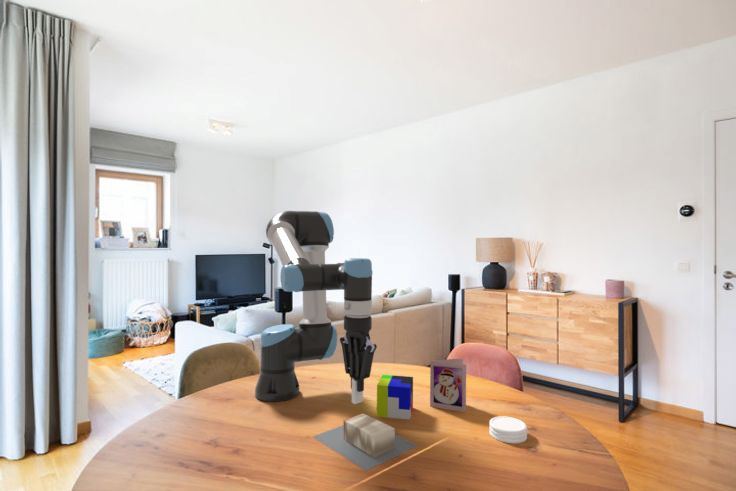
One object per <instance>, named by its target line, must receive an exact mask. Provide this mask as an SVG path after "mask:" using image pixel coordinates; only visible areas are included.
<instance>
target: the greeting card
mask: <svg viewBox="0 0 736 491" xmlns="http://www.w3.org/2000/svg"><path fill="white" fill-rule="evenodd" d="M429 368H430V372H429V373H430V374H429V375H430V376H429V377H430V378H429V379H430V380H429V381H430V382H429V383H430V384H429V385H430V386H429V388H430V390H429V396H430V397H429V407H432V408H437V409H443V410H444V409H445V410H450V411H456V412H457V411H458V412H462V413H463V412H464V413H466V412H467V364H464V358H448V359H447V358H446V359H432V360H430V366H429Z"/></svg>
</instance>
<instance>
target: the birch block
mask: <svg viewBox="0 0 736 491" xmlns="http://www.w3.org/2000/svg"><path fill="white" fill-rule="evenodd" d="M343 425H344V440H346V441H348V442H350V443H351V444H353V445H355V446H356V447H358V448H360V449H361V450H363V451H365V452H367V453H368V454H370V455H372V456H373V457H376V456H378V455H380V454H382V453H385V452H387V451H389V450H391V449H393V448H395V434H396V433H395V430H396V429H395V427H393V426H390V425H389V424H386V423H385V422H383V421H380V420H378V419H376V418H374V417H372V416H371V415H368V414H366V413H361V414H360V413H359V414H357V415H355V416H352V417H350V418H346V419H344V420H343Z"/></svg>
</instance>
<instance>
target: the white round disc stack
mask: <svg viewBox="0 0 736 491" xmlns="http://www.w3.org/2000/svg"><path fill="white" fill-rule="evenodd" d="M488 423H489V426H488V427H489V432H488V433H489V435H490V436H491V437H492V438H493V439H495V440H497V441H499V442H502V443H505V444H521V443H524V442H526V440H527V439H528V426H527V424H526V423H525V422H524V421H522V420H520V419H518V418H515V417H512V416H504V415H502V416H501V415H500V416H494V417H492V418H490V419H489V422H488Z"/></svg>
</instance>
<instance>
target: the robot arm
mask: <svg viewBox="0 0 736 491" xmlns="http://www.w3.org/2000/svg"><path fill="white" fill-rule="evenodd" d="M333 223H334V222H333V220H332V217H331V216H330V215H329V214H328V213H327V212H324V211H322V212H321V211H313V210H312V211H307V210H306V211H305V210H302V211H301V210H299V211H298V210H285V211H281V212H279V213H277V214H275V215H274V216H273V217H272V218H271V219H270V220H269V221H268V223H267V226H266V229H265V234H266V238H267V241H268V243H269V244H270V245H271V246H273V247H274V249H275V251H276V254H277V256H278V257H279V261H280V262H281V265H282V267H281V269H280V278H279V279H280V285H281V286H280V287H281V288H282V290H283V292H292V293H293V292H294V293H299V292H302V317H303V318H302V319H301V320H300V321H299V323H298V328H296V327H295V325H294V324H289V323H287V324H285V323H284V324H277V325H273V326H269V327H267V328H265V329H264V330H263V331H262V332H261V335H260V342H259V346H260V369H259V370H260V372H259V376H258V379H257V382H256V386H255V389H254V396H255V398H256V399H258V400H260V401H264V402H283V401H288V400H291V399H294V398H295V397H297V396H298V395H299V394H300V383H299V381H298V377H297V375H296V371H295V363H300V362H308V361H315V360H319V361H322V360H325V359H330V358H331V357H333V356H334V354H335V352H336V349H337V346H338V333H337V328H336V326H335V325H332V320H331V319H330V318H328V313H327V291H337V290H338V291H339V290H343V300H344V302H343V303H344V304H343V308H344V309H343V314H344V315H345V316H343V329H344V330H345V335H344V336H343V337H339V342H340V345H341V350H342V356H343V363H344V365H343V366H344V370H345V374H348V375H349V377H350V389H351V403H352V404H354V405H357V404H359V403H362V402H364V399H363V398H364V397H363V396H364V395H363V394H364V389H365V380H366V379H369V378H370V376H371V371H372V366H373V360H374V354H375V352H376V350H377V348H378V347H377V344H376V343H372V341H371V337H370V331H371V330H372V327H373V326H372V324H373V323H372V321H373V320H372V319H373V318H372V316H371V315H372V312H373V305H372V304H373V303H372V302H373V299H372V298H373V297H372V296H373V295H372V294H373V290H372V289H373V282H372V281H373V268H372V267H373V266H372V265H373V263H372V260H371V259H369V258H361V257H357V258H355V257H351V258H345V259H344V262H337V263H326V251H327V250H328V249H329V246H330V245H329V244H330V243H332V242H333V241H334V235H335V230H334V224H333Z"/></svg>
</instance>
